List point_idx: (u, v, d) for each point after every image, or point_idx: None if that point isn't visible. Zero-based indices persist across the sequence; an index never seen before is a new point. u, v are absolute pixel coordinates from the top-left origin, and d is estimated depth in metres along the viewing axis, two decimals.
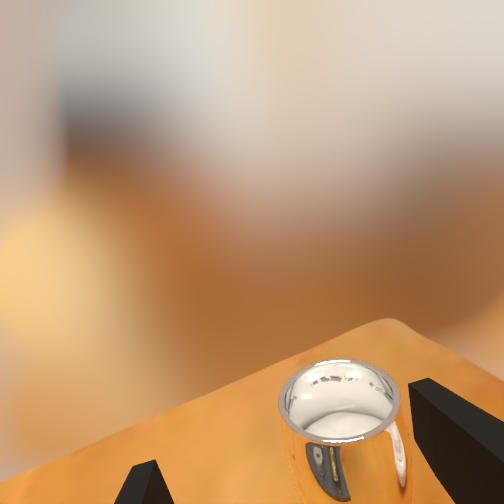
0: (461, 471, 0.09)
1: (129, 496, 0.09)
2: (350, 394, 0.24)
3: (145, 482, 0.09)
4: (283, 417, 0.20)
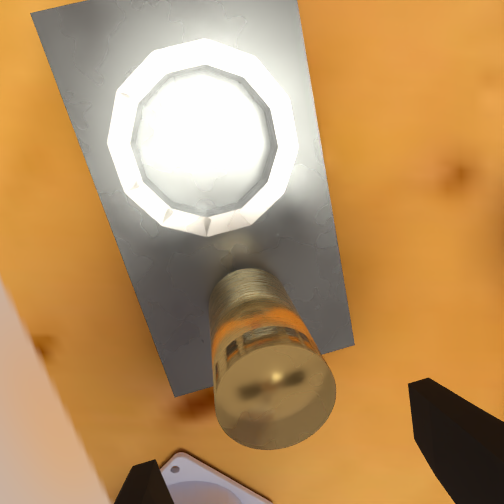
0: (461, 470, 0.09)
1: (129, 496, 0.09)
2: None
3: (145, 482, 0.09)
4: None
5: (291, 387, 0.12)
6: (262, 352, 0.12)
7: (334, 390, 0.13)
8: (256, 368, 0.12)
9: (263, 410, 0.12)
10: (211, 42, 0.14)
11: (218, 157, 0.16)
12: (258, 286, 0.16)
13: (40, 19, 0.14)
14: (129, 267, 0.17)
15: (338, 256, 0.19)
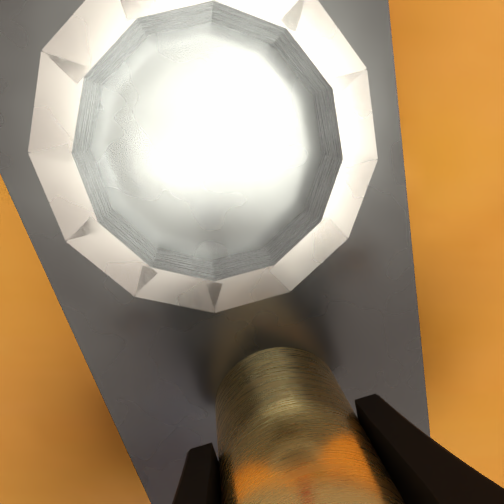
0: (398, 491, 0.09)
1: (194, 476, 0.09)
2: None
3: (207, 463, 0.09)
4: None
5: None
6: None
7: None
8: None
9: None
10: None
11: (233, 174, 0.10)
12: (302, 396, 0.09)
13: None
14: (87, 351, 0.11)
15: (417, 325, 0.12)
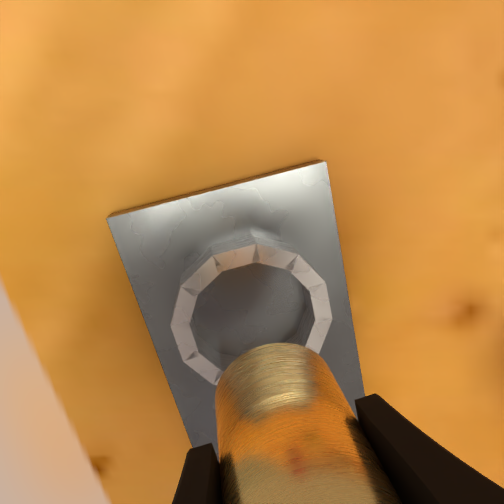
0: (398, 491, 0.09)
1: (194, 476, 0.09)
2: None
3: (207, 463, 0.09)
4: None
5: None
6: None
7: None
8: None
9: None
10: (261, 246, 0.16)
11: (260, 317, 0.19)
12: (299, 391, 0.10)
13: (114, 222, 0.16)
14: (180, 406, 0.20)
15: (362, 387, 0.21)
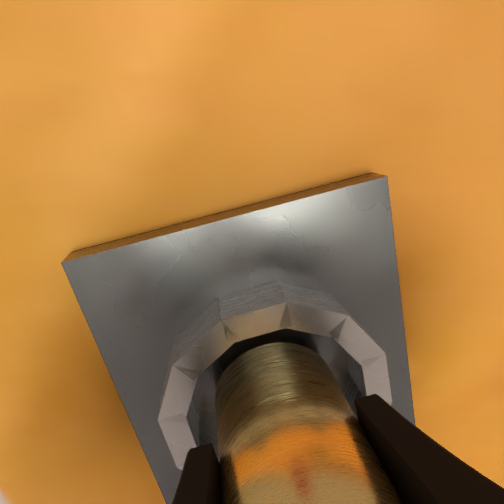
0: (398, 491, 0.09)
1: (194, 476, 0.09)
2: None
3: (207, 463, 0.09)
4: None
5: None
6: None
7: None
8: None
9: None
10: (294, 305, 0.11)
11: None
12: (298, 391, 0.10)
13: (73, 268, 0.11)
14: None
15: None
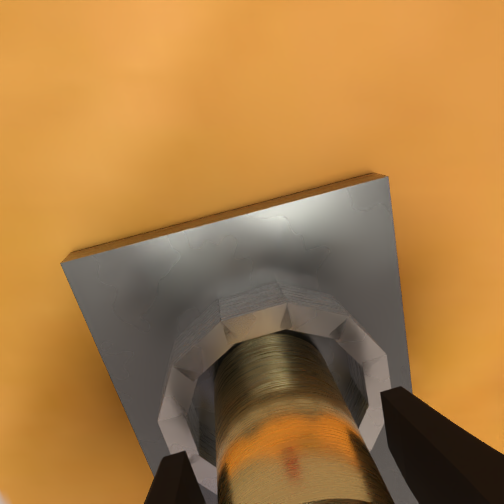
0: (428, 481, 0.09)
1: (164, 485, 0.09)
2: None
3: (178, 472, 0.09)
4: None
5: None
6: None
7: None
8: None
9: None
10: (294, 306, 0.11)
11: None
12: (291, 379, 0.10)
13: (73, 268, 0.11)
14: None
15: None
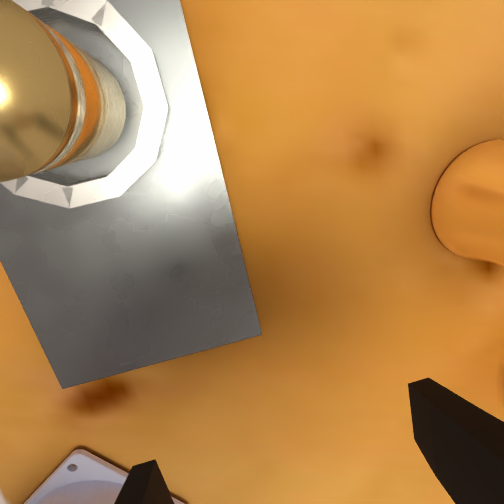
0: (461, 471, 0.09)
1: (129, 496, 0.09)
2: None
3: (145, 482, 0.09)
4: None
5: None
6: None
7: (68, 85, 0.08)
8: None
9: None
10: None
11: None
12: None
13: None
14: None
15: (236, 236, 0.17)
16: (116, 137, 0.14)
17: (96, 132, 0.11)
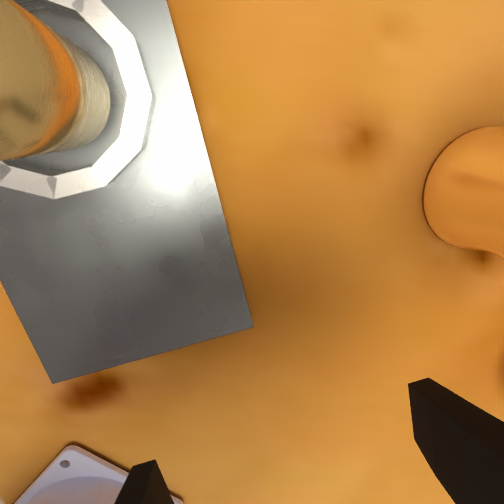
0: (461, 471, 0.09)
1: (129, 496, 0.09)
2: None
3: (145, 482, 0.09)
4: None
5: None
6: None
7: (39, 65, 0.08)
8: None
9: None
10: None
11: None
12: None
13: None
14: None
15: (225, 227, 0.17)
16: (101, 126, 0.14)
17: (76, 118, 0.11)
